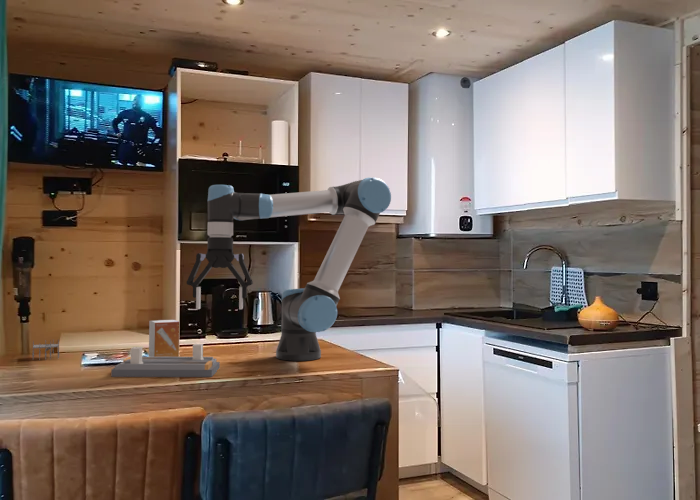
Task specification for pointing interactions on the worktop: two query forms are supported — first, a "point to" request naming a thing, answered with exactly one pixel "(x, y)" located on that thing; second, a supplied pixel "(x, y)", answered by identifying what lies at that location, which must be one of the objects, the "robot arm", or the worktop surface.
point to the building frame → (46, 348)
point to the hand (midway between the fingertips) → (219, 309)
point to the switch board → (167, 367)
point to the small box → (164, 338)
